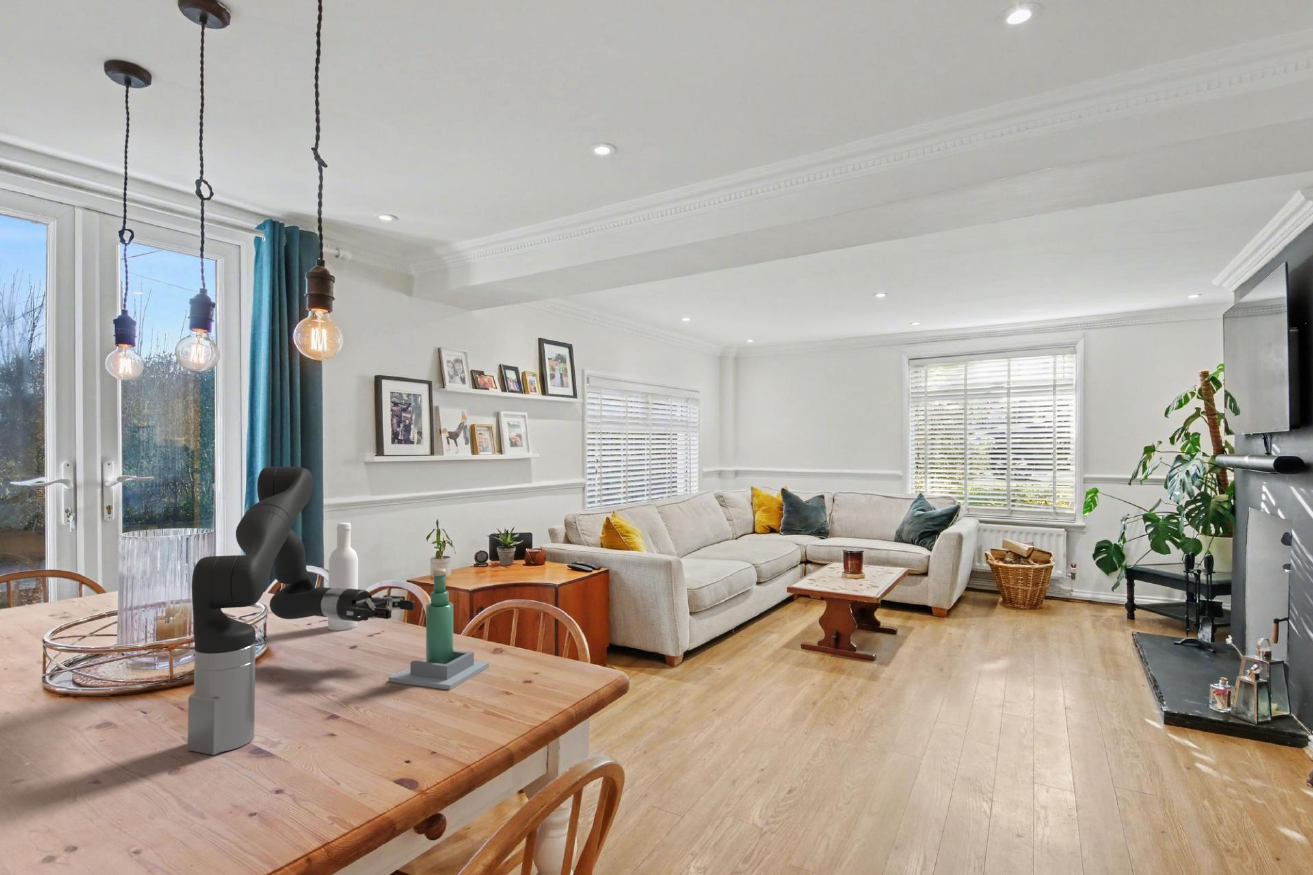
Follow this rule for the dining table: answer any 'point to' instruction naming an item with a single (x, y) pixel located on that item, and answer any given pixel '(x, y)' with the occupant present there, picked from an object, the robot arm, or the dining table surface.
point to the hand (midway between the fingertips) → (402, 609)
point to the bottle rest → (441, 671)
